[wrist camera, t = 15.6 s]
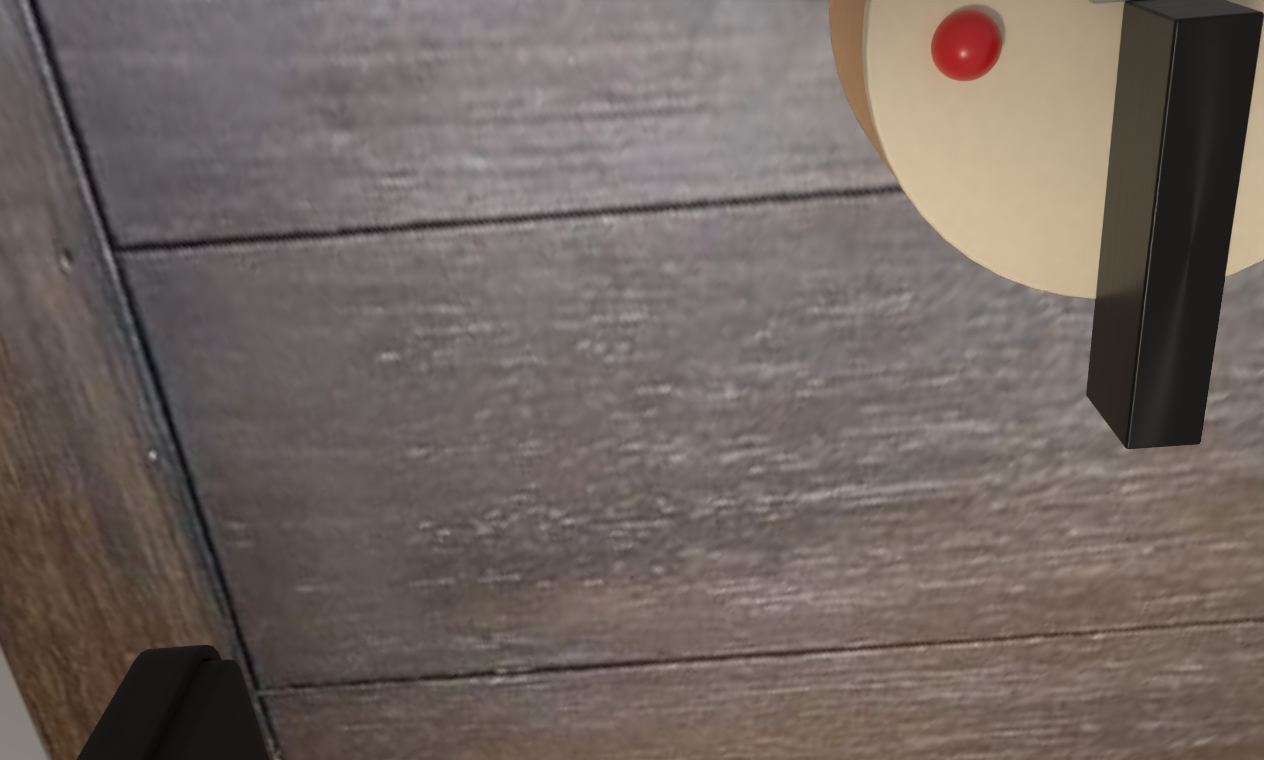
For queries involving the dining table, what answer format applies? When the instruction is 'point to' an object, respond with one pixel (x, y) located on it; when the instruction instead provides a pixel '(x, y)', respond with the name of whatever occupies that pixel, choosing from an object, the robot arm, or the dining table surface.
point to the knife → (1169, 213)
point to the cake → (1011, 126)
